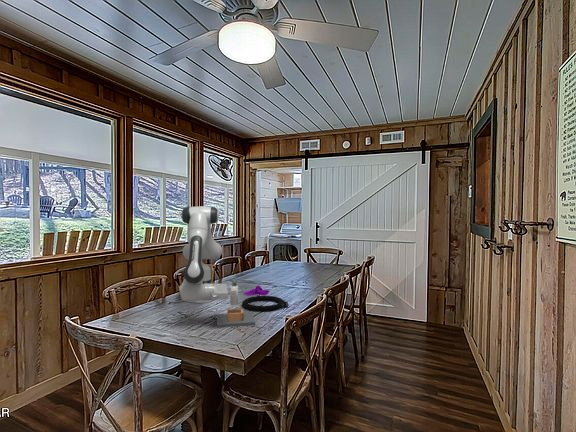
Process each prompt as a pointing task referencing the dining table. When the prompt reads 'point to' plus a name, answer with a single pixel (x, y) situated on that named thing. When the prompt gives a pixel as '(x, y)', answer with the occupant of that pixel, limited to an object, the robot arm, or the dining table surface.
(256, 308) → the cable lock
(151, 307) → the dining table surface
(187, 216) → the robot arm
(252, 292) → the cloth
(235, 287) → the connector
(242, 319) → the holder
